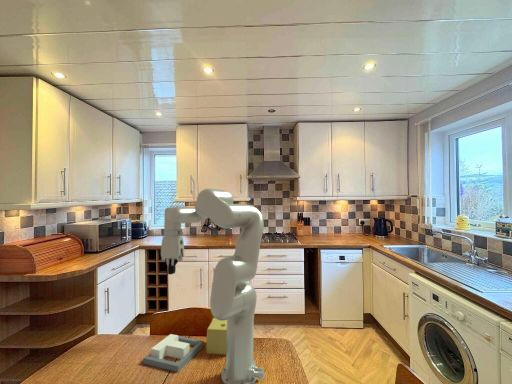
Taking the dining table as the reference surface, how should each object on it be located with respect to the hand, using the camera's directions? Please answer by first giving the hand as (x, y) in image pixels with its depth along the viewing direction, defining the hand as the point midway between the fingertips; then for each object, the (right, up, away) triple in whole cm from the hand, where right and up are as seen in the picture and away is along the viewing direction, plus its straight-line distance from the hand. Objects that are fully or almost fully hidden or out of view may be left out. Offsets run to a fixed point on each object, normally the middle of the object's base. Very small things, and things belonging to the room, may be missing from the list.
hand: (171, 273), depth 115 cm
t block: (+6, -27, -15) cm, 32 cm away
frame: (+6, -27, -15) cm, 32 cm away
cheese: (+24, -28, -11) cm, 39 cm away
